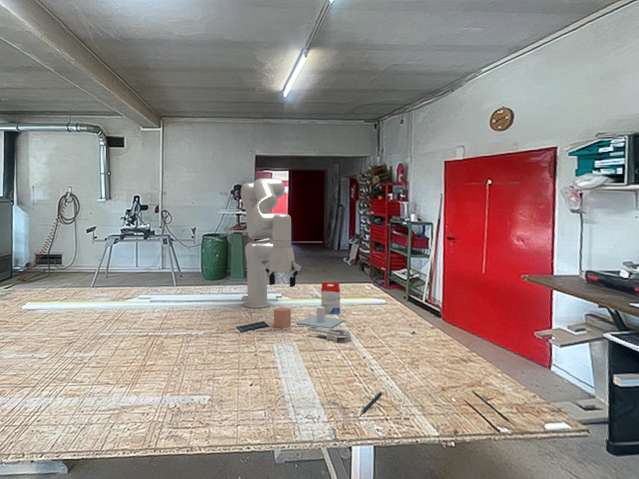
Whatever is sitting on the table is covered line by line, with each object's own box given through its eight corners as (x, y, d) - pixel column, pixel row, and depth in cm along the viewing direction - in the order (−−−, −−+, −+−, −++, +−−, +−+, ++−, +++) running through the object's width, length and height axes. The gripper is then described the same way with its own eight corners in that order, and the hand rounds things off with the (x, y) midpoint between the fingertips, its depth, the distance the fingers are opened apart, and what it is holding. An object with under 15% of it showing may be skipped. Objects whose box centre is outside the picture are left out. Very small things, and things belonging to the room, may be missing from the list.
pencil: (382, 395, 135) (361, 417, 122) (378, 395, 136) (357, 417, 123) (382, 392, 135) (361, 414, 122) (378, 391, 136) (357, 413, 123)
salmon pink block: (273, 326, 204) (273, 309, 203) (280, 323, 208) (280, 307, 208) (284, 328, 201) (284, 311, 201) (290, 325, 206) (290, 308, 205)
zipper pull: (314, 332, 196) (314, 321, 196) (354, 338, 187) (355, 327, 187) (303, 337, 189) (303, 326, 189) (345, 344, 180) (345, 333, 180)
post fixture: (296, 324, 207) (296, 308, 207) (311, 316, 220) (312, 302, 219) (330, 329, 200) (330, 313, 200) (344, 321, 213) (344, 306, 212)
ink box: (340, 311, 230) (340, 280, 228) (339, 314, 225) (339, 282, 224) (322, 311, 231) (322, 280, 229) (320, 313, 226) (321, 282, 224)
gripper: (259, 244, 202) (259, 285, 203) (295, 246, 194) (296, 288, 196) (269, 242, 209) (269, 282, 210) (304, 244, 201) (305, 285, 202)
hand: (282, 285), depth 203 cm, fingers open, 9 cm apart
